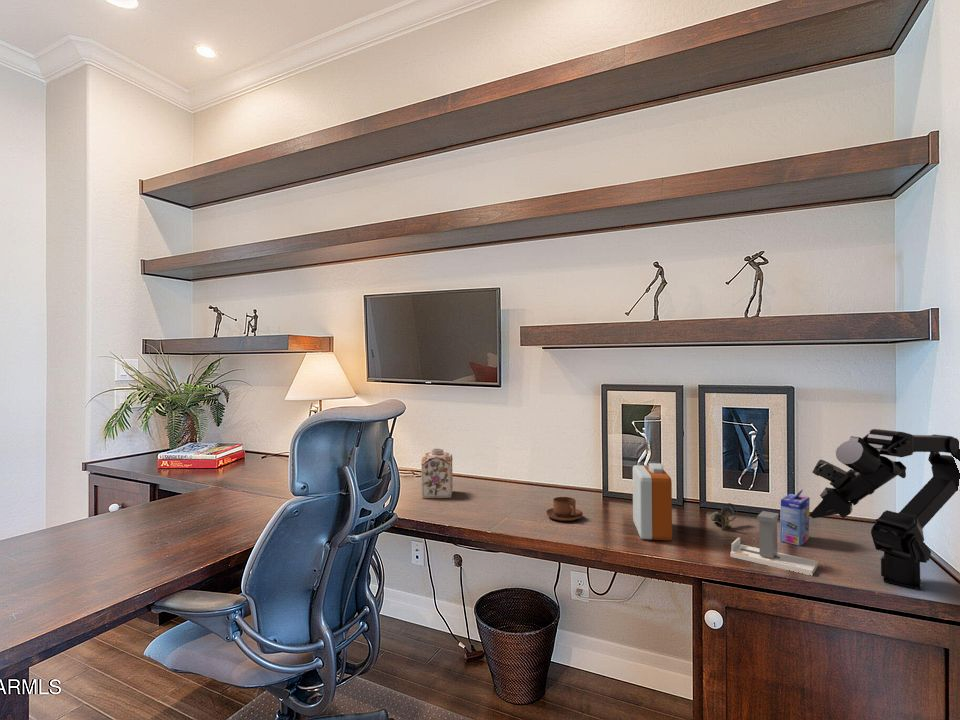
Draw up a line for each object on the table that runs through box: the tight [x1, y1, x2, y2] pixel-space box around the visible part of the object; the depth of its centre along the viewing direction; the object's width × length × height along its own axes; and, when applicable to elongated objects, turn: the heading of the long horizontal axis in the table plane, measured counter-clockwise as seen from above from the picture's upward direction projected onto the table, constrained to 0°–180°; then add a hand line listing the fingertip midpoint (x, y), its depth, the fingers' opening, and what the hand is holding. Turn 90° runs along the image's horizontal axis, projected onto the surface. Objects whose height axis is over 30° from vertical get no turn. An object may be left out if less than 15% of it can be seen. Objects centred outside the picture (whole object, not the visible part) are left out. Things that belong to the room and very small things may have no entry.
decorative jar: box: [420, 447, 454, 499], centre depth 195 cm, size 12×12×18 cm
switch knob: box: [757, 510, 780, 559], centre depth 127 cm, size 4×6×10 cm, turn 137°
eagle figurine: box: [710, 502, 737, 531], centre depth 155 cm, size 8×8×10 cm
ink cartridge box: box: [779, 489, 811, 547], centre depth 142 cm, size 10×6×14 cm, turn 135°
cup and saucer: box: [545, 496, 584, 522], centre depth 164 cm, size 12×12×6 cm
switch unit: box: [730, 537, 819, 577], centre depth 127 cm, size 18×8×3 cm, turn 47°
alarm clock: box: [632, 462, 673, 541], centre depth 151 cm, size 18×9×21 cm, turn 170°
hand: (811, 516), depth 121 cm, fingers closed
